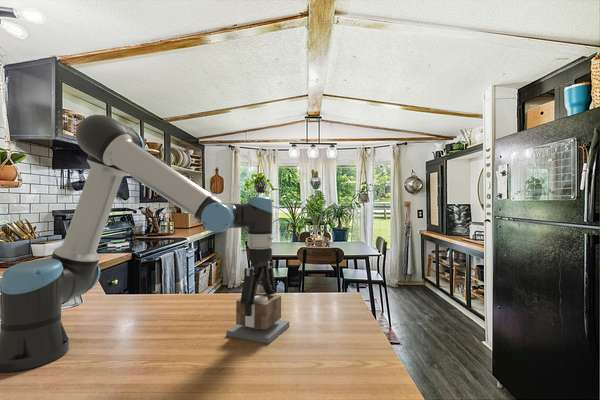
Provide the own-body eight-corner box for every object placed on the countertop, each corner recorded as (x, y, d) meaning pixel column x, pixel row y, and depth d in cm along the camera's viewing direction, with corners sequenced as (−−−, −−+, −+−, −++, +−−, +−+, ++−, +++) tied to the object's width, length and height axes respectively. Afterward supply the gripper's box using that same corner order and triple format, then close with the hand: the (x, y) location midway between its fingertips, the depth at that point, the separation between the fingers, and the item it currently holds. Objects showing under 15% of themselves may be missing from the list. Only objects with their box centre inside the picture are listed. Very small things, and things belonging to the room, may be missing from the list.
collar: (265, 329, 90) (266, 304, 90) (236, 324, 94) (236, 300, 94) (281, 317, 99) (281, 295, 99) (253, 313, 103) (253, 292, 103)
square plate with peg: (268, 343, 87) (268, 307, 88) (226, 335, 93) (226, 301, 93) (289, 326, 100) (289, 294, 101) (251, 319, 106) (251, 289, 106)
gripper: (251, 253, 85) (250, 336, 85) (286, 243, 106) (285, 310, 106) (227, 251, 88) (226, 331, 88) (266, 242, 109) (265, 307, 108)
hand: (259, 320), depth 97 cm, fingers closed on collar, 10 cm apart
